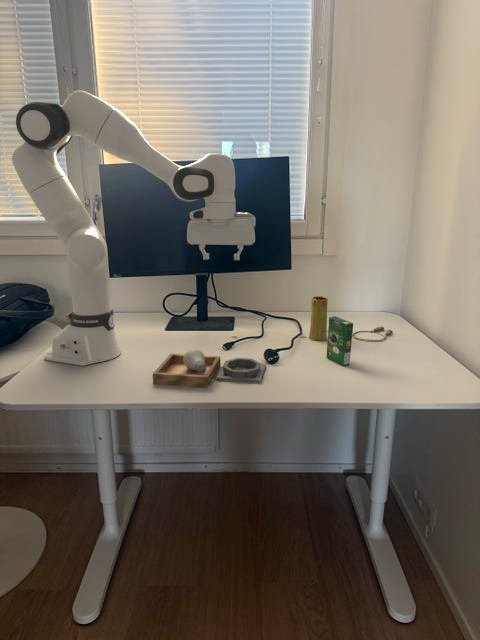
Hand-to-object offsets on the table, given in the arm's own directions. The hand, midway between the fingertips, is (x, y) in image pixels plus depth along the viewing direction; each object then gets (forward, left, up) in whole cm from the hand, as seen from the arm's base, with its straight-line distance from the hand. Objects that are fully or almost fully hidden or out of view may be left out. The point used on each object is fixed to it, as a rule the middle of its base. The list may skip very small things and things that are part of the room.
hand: (221, 259), depth 133 cm
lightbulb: (0, -24, -26) cm, 35 cm away
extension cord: (+49, +23, -30) cm, 62 cm away
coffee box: (+36, -4, -29) cm, 47 cm away
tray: (-6, -20, -29) cm, 36 cm away
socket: (+9, -17, -29) cm, 35 cm away
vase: (+30, +17, -29) cm, 45 cm away
